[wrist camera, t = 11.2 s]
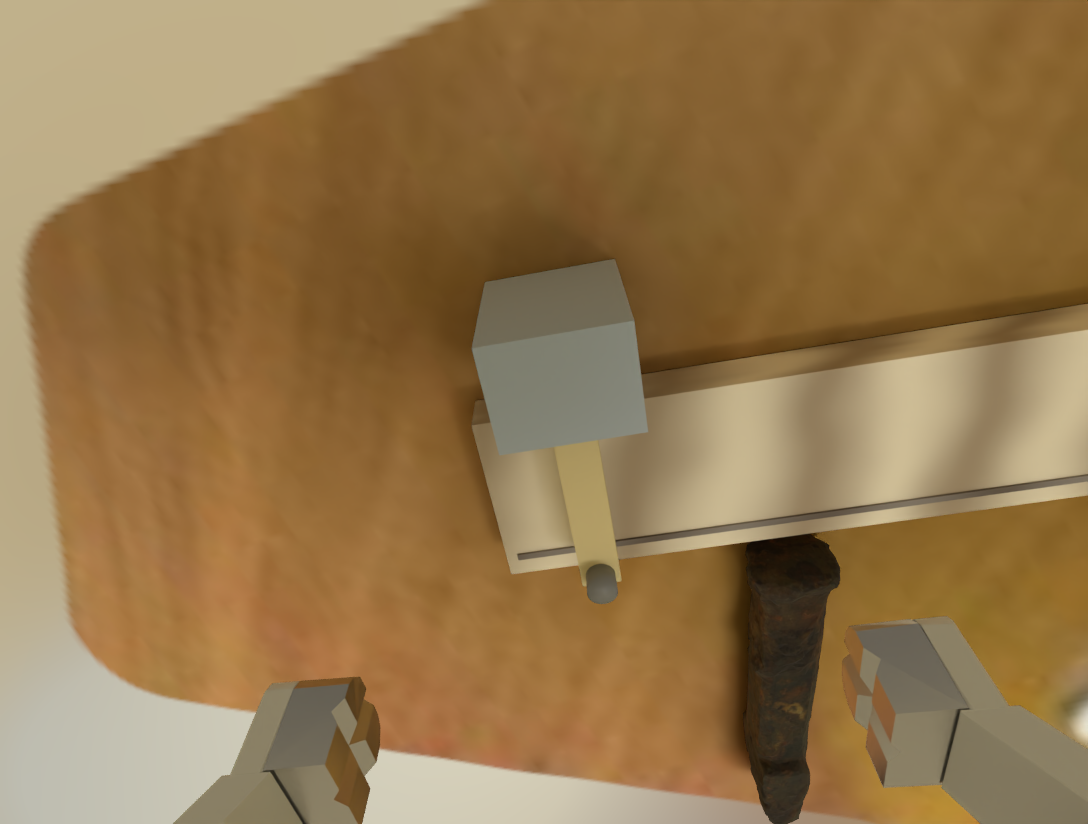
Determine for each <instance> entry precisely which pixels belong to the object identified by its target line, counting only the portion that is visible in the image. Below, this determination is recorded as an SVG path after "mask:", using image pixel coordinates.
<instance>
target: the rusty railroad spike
mask: <svg viewBox="0 0 1088 824" xmlns="http://www.w3.org/2000/svg"><path fill="white" fill-rule="evenodd" d="M745 555H746V557H747V559H748V561H749V563H748V565H747V567H746V571H747V576H748V581H747V583H748V585H749V586H750V588H751V589H752V594H751V604H750V611H749V623H748V639H749V640H750V646H749V647H748V653H749V661H748V691H747V710H746V711H745V712H744V713H743V720H744V732H745V741H746V746H747V751H748V752H749V758H750V763H751V773H752V775H753V777H754V780H755V782H756V785H757V790H758V793H759V799H760V802H761V805H762V807H763V810H764V812H765V814H766V815H767V816H768V818H769V820H770V821H771V822H772V823H773V824H788V823H790V822H793V821H795V820H797V819H799V814H800V812H801V807H802V805H803V800H804V798H805V796H806V794H807V792H808V789H809V785H810V772H809V768H808V766H807V762H806V750H807V743H808V742H807V739H808V727H809V721H810V718H811V711H812V704H813V699H814V693H815V688H816V681H817V674H818V669H819V659H820V652H821V644H822V639H823V629H824V618H825V614H826V603H827V597H828V595H829V593H830V591H831V590H833V589H834V588H837V587H838V585H839V583H840V582H839V581H840V567H839V565H838V562H837V560H836V558H835V556H834V555H833V554H832V552H831V551H830V550H829V545H828V544H826V543H825V542H823V541H821V540H819V539H816V538H815V537H813V536H812V535H810V534H802V535H795V536H788V537H780V538H773V539H766V540H758V541H752V542H750V543H749V544H748V545H747V549H746V554H745Z"/></svg>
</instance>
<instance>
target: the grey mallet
mask: <svg viewBox="0 0 1088 824" xmlns="http://www.w3.org/2000/svg"><path fill="white" fill-rule="evenodd" d="M472 352H473V356H474V360H475V364H476V368H477V372H478V375H479V379H480V383H481V387H482V391H483V395H484V398H485V402H486V406H487V410H488V414H489V418H490V422H491V425H492V429H493V433H494V437H495V441H496V445H497V449H498V452H499V455H506V454H512V453H518V452H525V451H531V450H537V449H544V448H550V447H554V451H555V455H556V460H557V465H558V470H559V474H560V479H561V484H562V489H563V494H564V498H565V503H566V508H567V513H568V517H569V522H570V527H571V532H572V536H573V541H574V546H575V551H576V556H577V560H578V565H579V570H580V575H581V579H582V584H583V586H587V595H588V598H589V599H590V600H591V601H593V602H594V603H598V604H606V603H609V602H611V601H613V600H614V599H615V598H616V597H617V594H618V589H617V582H619V581H622V580H621V573H620V567H619V560H618V553H617V547H616V541H615V535H614V529H613V524H612V518H611V512H610V506H609V500H608V494H607V488H606V482H605V476H604V470H603V464H602V458H601V453H600V447H599V441H598V440H601V439H608V438H614V437H620V436H627V435H633V434H639V433H646V432H648V426H647V418H646V410H645V402H644V394H643V386H642V378H641V370H640V362H639V354H638V346H637V338H636V330H635V322H634V318H633V315H632V312H631V308H630V305H629V302H628V299H627V296H626V292H625V289H624V286H623V283H622V280H621V277H620V273H619V270H618V267H617V264H616V261H615V259H611V260H605V261H600V262H594V263H589V264H583V265H577V266H572V267H566V268H561V269H555V270H550V271H544V272H538V273H533V274H527V275H522V276H516V277H511V278H505V279H499V280H494V281H488V282H485V284H484V289H483V294H482V299H481V304H480V309H479V314H478V319H477V323H476V328H475V333H474V338H473V343H472Z"/></svg>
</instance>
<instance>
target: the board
mask: <svg viewBox="0 0 1088 824" xmlns="http://www.w3.org/2000/svg"><path fill="white" fill-rule="evenodd" d="M641 378H642V386H643V394H644V402H645V410H646V418H647V426H648V432H646V433H639V434H633V435H627V436H620V437H614V438H608V439H601V440H598V441H599V447H600V453H601V458H602V464H603V470H604V476H605V482H606V488H607V494H608V500H609V506H610V512H611V518H612V524H613V529H614V535H615V541H616V547H617V553H618V560H620V559H627V558H634V557H642V556H649V555H656V554H663V553H671V552H678V551H685V550H693V549H700V548H707V547H715V546H722V545H729V544H736V543H744V542H751V541H758V540H766V539H773V538H780V537H788V536H795V535H802V534H809V533H817V532H824V531H831V530H839V529H846V528H853V527H860V526H868V525H875V524H882V523H890V522H897V521H904V520H912V519H919V518H926V517H933V516H941V515H948V514H955V513H963V512H970V511H977V510H984V509H992V508H999V507H1006V506H1014V505H1021V504H1028V503H1036V502H1043V501H1050V500H1057V499H1065V498H1072V497H1079V496H1087V495H1088V304H1083V305H1076V306H1070V307H1064V308H1057V309H1051V310H1045V311H1038V312H1032V313H1026V314H1019V315H1013V316H1007V317H1001V318H994V319H988V320H982V321H975V322H969V323H963V324H956V325H950V326H944V327H937V328H931V329H925V330H919V331H912V332H906V333H900V334H893V335H887V336H881V337H874V338H868V339H862V340H855V341H849V342H843V343H837V344H830V345H824V346H818V347H811V348H805V349H799V350H792V351H786V352H780V353H773V354H767V355H761V356H755V357H748V358H742V359H736V360H729V361H723V362H717V363H710V364H704V365H698V366H692V367H685V368H679V369H673V370H666V371H660V372H654V373H647V374H641ZM471 426H472V430H473V434H474V437H475V441H476V445H477V448H478V452H479V456H480V460H481V463H482V467H483V471H484V474H485V478H486V482H487V486H488V489H489V493H490V497H491V500H492V504H493V508H494V512H495V515H496V519H497V523H498V526H499V530H500V534H501V538H502V541H503V545H504V549H505V552H506V556H507V560H508V564H509V567H510V571H511V574H518V573H525V572H532V571H539V570H547V569H554V568H561V567H569V566H576V565H578V560H577V556H576V551H575V546H574V541H573V536H572V532H571V527H570V522H569V517H568V513H567V508H566V503H565V498H564V494H563V489H562V484H561V479H560V474H559V470H558V465H557V460H556V455H555V451H554V447H550V448H544V449H537V450H531V451H525V452H518V453H512V454H506V455H499V452H498V449H497V445H496V441H495V437H494V433H493V429H492V425H491V422H490V418H489V414H488V410H487V406H486V402H485V399H483V400H477V401H475V406H474V412H473V419H472V425H471Z"/></svg>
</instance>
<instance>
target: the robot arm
mask: <svg viewBox="0 0 1088 824" xmlns="http://www.w3.org/2000/svg"><path fill="white" fill-rule="evenodd" d="M844 642H845V644H846V647H847V649H848V651H849V653H850V654H849V655H847V656H846V657H845V658H844V659H843V661H842V679H843V686H844V692H845V695H846V698H847V702H848V705H849V707H850V710H851V712H852V715H853V717H854V720H855V721H856V722H858V723H859V724H860V725H862V726H863V727H864V728H865V729H867V730H868V733H867V741H866V748H867V751H868V753H869V755H870V757H871V760H872V762H873V764H874V767H875V769H876V771H877V774H878V776H879V778H880V781H881V783H882V785H883V788H887V787H906V786H926V785H942V789H944V790H945V791H946V792H947V793H948V794H949V795H950V796H951V797H952V798H953V799H954V800H955V801H957V802H958V803H959V804H960V805H961V806H962V807H963V808H964V809H965V810H966V811H967V812H969V813H970V814H971V815H972V816H973V817H974V818H975V819H976V820H977V821H978V822H979V823H981V824H1088V749H1087V748H1085V747H1084V746H1082V745H1080V744H1079V743H1077V742H1076V741H1074V740H1073V739H1071V738H1070V737H1068V736H1067V735H1065V734H1063V733H1062V732H1060V731H1059V730H1057V729H1056V728H1054V727H1053V726H1051V725H1049V724H1048V723H1046V722H1045V721H1043V720H1042V719H1040V718H1039V717H1037V716H1035V715H1034V714H1032V713H1031V712H1029V711H1028V710H1026V709H1025V708H1023V707H1021V706H1020V705H1019V706H1009V705H1008V703H1007V702H1006V700H1005V699H1004V697H1003V696H1002V694H1001V693H1000V691H999V690H998V688H997V686H996V685H995V683H994V682H993V680H992V679H991V677H990V676H989V674H988V673H987V671H986V670H985V668H984V667H983V665H982V664H981V662H980V661H979V659H978V658H977V656H976V655H975V653H974V652H973V650H972V648H971V647H970V645H969V644H968V642H967V641H966V639H965V638H964V636H963V635H962V633H961V632H960V630H959V629H958V627H957V626H956V624H955V623H954V621H953V620H951V619H950V618H949V617H947V616H942V617H932V618H923V619H914V620H911V619H906V620H897V621H889V622H880V623H871V624H862V625H854V626H849V627H848V628H847V630H846V632H845V640H844ZM365 692H366V687H365V685H364V684H363V682H362V680H361V678H360V677H347V678H333V679H319V680H305V681H294V682H282V683H272V685H271V686H270V687H269V688H268V689H267V690H266V691H265V693H264V695H263V697H262V700H261V702H260V705H259V707H258V709H257V712H256V714H255V717H254V719H253V721H252V724H251V726H250V729H249V731H248V733H247V736H246V738H245V741H244V743H243V746H242V748H241V750H240V753H239V755H238V757H237V760H236V762H235V765H234V767H233V769H232V772H231V774H230V775H225V776H221V777H220V778H219V779H218V780H217V781H216V782H215V783H214V784H213V785H212V786H211V787H210V788H209V789H208V790H207V791H206V792H205V793H204V794H203V795H202V796H201V797H200V798H199V799H198V800H197V801H196V802H195V803H194V804H193V805H192V806H190V807H189V808H188V809H187V810H186V811H185V812H184V813H183V814H182V815H181V816H180V817H179V818H178V819H177V820H176V821H175V822H174V823H173V824H362V822H363V817H364V813H365V809H366V804H367V800H368V796H369V792H370V787H369V785H368V783H367V781H366V779H365V777H364V776H365V775H366V774H367V772H368V771H369V770H370V769H371V768H372V767H373V766H374V764H375V763H376V761H377V756H378V752H379V747H380V723H379V718H378V714H377V711H376V709H375V707H374V705H372V704H371V703H369V702H367V701H366V700H364V696H365Z"/></svg>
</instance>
